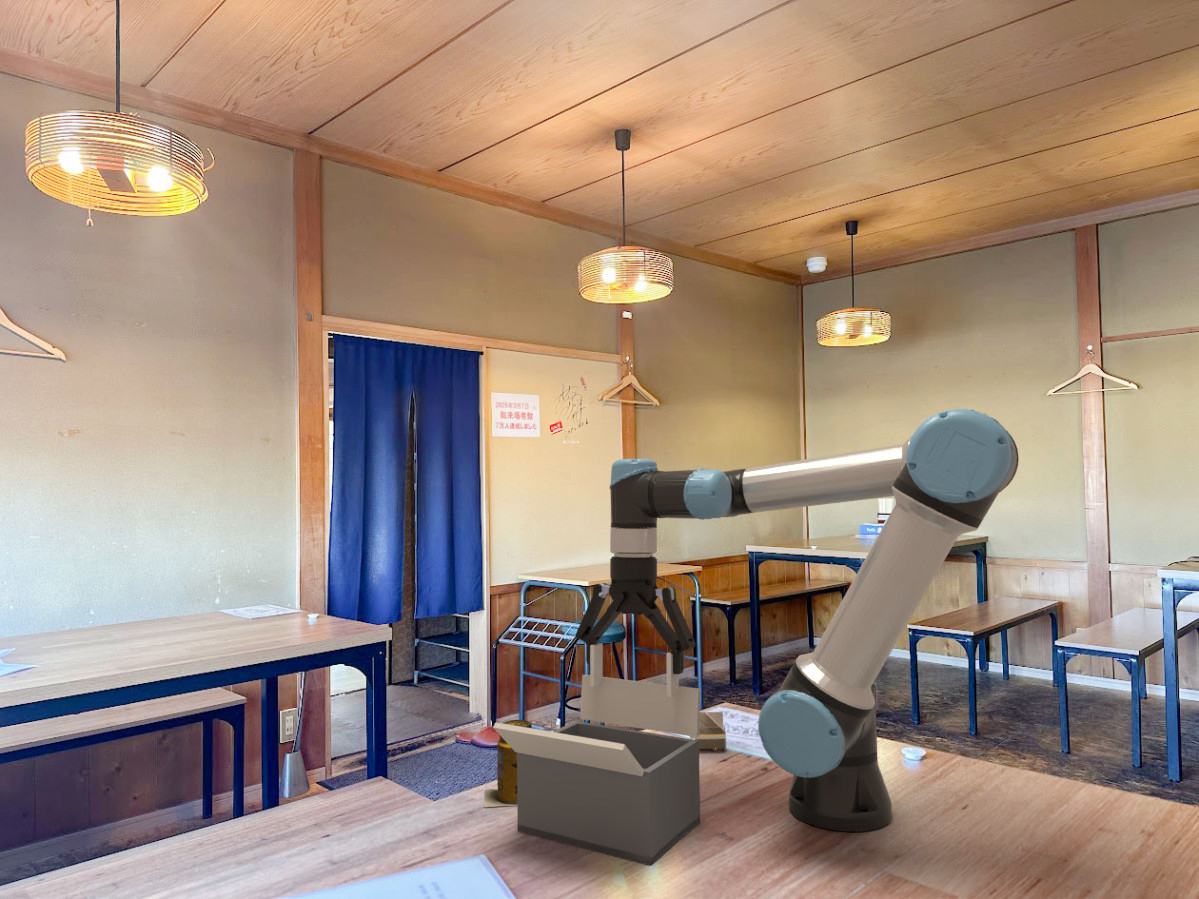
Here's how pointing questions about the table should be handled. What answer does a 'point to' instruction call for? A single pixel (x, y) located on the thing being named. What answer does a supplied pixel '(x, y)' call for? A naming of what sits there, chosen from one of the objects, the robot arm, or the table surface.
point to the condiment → (505, 772)
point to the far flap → (641, 705)
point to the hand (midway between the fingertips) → (633, 690)
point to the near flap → (570, 748)
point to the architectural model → (711, 731)
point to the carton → (613, 796)
